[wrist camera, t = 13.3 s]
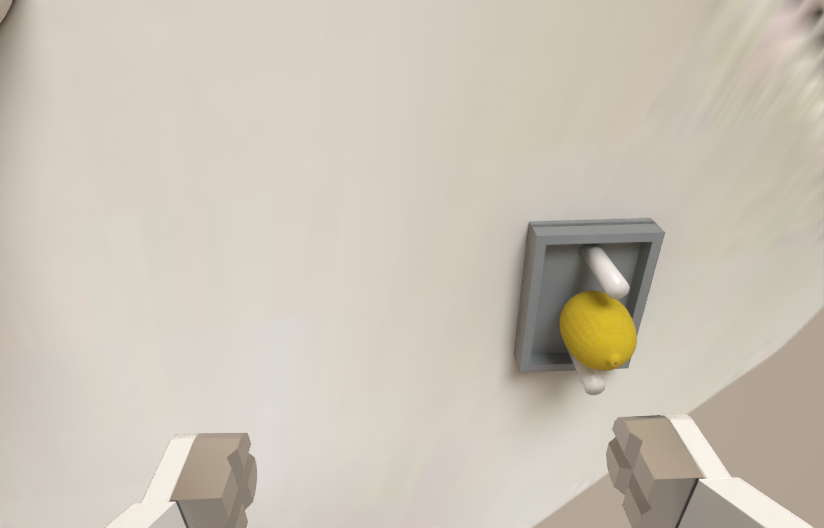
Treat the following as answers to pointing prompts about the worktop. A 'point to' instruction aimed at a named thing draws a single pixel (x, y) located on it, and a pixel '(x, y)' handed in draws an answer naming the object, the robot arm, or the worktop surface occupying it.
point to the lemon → (598, 330)
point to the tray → (580, 284)
